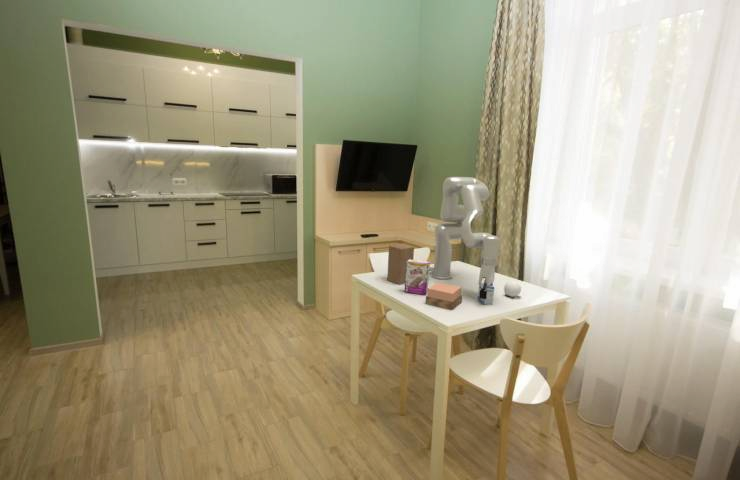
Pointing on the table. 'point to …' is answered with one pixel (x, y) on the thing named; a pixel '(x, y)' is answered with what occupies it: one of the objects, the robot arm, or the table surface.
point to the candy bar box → (417, 277)
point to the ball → (512, 288)
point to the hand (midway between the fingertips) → (485, 295)
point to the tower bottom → (444, 302)
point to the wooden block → (398, 262)
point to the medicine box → (489, 295)
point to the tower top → (444, 292)
